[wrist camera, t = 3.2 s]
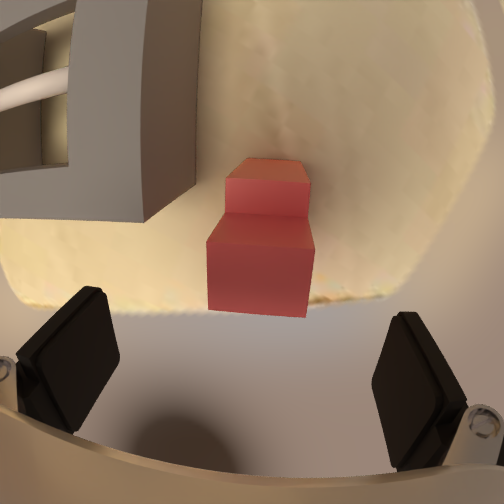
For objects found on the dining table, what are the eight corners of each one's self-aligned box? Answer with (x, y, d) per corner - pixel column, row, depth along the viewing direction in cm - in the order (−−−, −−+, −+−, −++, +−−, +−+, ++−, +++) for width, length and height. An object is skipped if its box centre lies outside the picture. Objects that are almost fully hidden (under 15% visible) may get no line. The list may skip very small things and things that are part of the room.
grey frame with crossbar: (202, -6, 18) (158, -65, 9) (195, 184, 24) (143, 222, 15) (32, 37, 19) (-40, 27, 10) (31, 186, 26) (-41, 217, 16)
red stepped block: (300, 161, 23) (320, 203, 11) (294, 241, 25) (300, 349, 13) (247, 158, 23) (206, 197, 11) (244, 237, 26) (209, 341, 14)
